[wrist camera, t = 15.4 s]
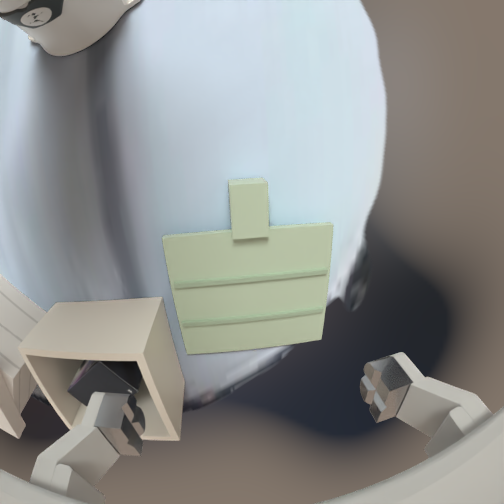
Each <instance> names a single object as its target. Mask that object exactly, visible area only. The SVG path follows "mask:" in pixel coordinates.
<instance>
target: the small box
mask: <svg viewBox="0 0 504 504" xmlns="http://www.w3.org/2000/svg"><path fill="white" fill-rule="evenodd" d="M142 377H143V376H142V373H141V371H140V368H139V366H138V363H137V361H101V360H83V362H82V364H81V365H80V367H79V369H78V371H77V373H76V375H75V377H74V379H73V380H72V382H71V384H70V386H69V388H68V390H67V392H69V393H70V394H71V395H72V396H73V397H75V398H76V399H77V400H78V401H80V402H81V403H82V404H84V405H85V406H88V404H89V401H90V398H91V396H92V394H93V393H94V392H104V393H119V394H132V395H134V394H136V393H138V391H139V387H140V384H141V381H142Z"/></svg>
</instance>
